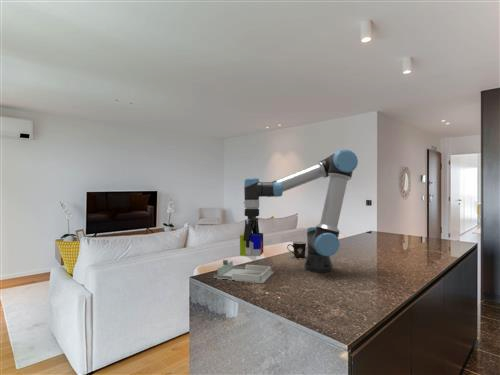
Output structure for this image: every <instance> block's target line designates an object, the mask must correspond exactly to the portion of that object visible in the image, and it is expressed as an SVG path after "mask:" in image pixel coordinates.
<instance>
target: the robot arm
mask: <svg viewBox="0 0 500 375" xmlns="http://www.w3.org/2000/svg"><path fill="white" fill-rule="evenodd" d="M358 162H359V160H358V156H357V155H356V153H354V152H353V151H352V150H350V149H345V148H344V149H340V150H338V151H336V152H334V153H332V154H331V155H329V156H327V157H326V158H324V159H322V160H319V161H317V163H316V164H314V165H311V166H309V167H306V168H303V169H302V170H301V169H300V170H299V171H296V172H293V173H290V174H288V175H286V176H284V177H281V178H279V179H276V180H273V181H260V179H259V178H257V177H248V178H245V179H244V185H243V186H244V187H243V188H244V193H243V194H244V202H243V204H244V208H245V209H244V217H247V219H245V220H244V229H243V230H244V232H243V233H244V239H243V240H244V241H245V254H251V241H250V239H251V234H252V233H260V228H259V227H260V226H259V216H260V209H259V208H260V198H261V197H265V198H272V197H273V198H277V197H280V198H281V197H282V196H283V192H287V191H289V190H291V189H292V190H293V189H294V188H297V187H299V186H302V185H305V184H307V183H310V182H312V181H315V180H318V179H320V178H323V179H325V178H328V177H329V182H328V186H327V192H326V196H325V199H324V204H323V209H322V212H321V213H322V214H321V218H320V222H319V223H318V224H317V225H316V226H311V227H307V229H306V236H307V237H306V238H307V240H306V241H307V242H306V249H307V255H306V257H305V261H304V270H306V271H309V272H314V273H315V272H316V273H327V272H331V271H333V269H334V268H333V263H332V259H331V258H330V257H331V256H333V255H335V254H336V253H337V252H338V251H339V249H340V245H341V244H340V240H339V235H340V229H339V228H338V225H339V221H340V216H341V212H342V207H343V203H344V198H345V194H346V189H347V185H348V181H350V180H351V179H352V176H353V172H354V171H355V169H356V168H357V167H358Z"/></svg>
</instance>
